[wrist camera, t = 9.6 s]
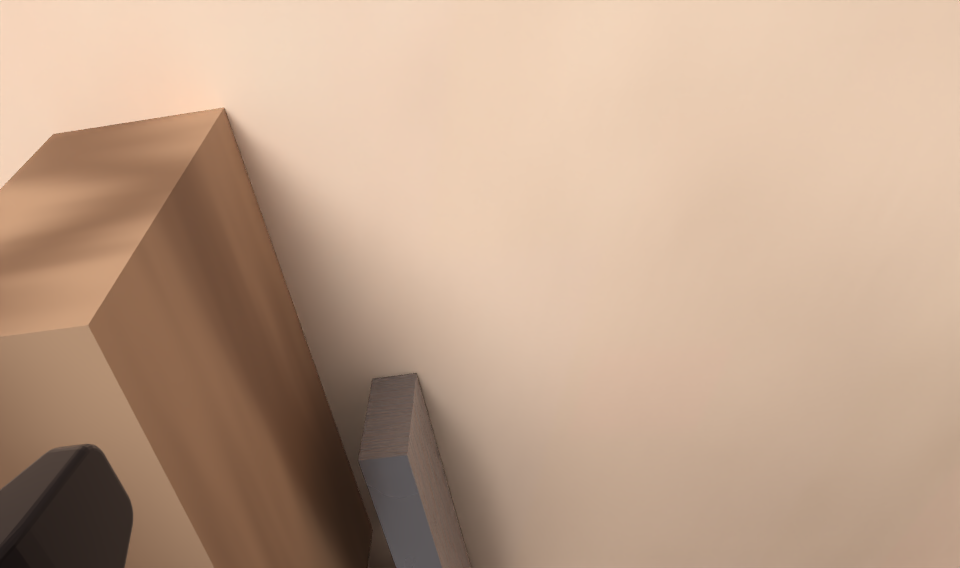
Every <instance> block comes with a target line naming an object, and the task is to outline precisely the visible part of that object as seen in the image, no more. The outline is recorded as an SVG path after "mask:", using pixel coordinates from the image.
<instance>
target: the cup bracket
mask: <svg viewBox="0 0 960 568" xmlns="http://www.w3.org/2000/svg"><path fill="white" fill-rule="evenodd" d="M358 462H359V465H360V467H361V470H362V473H363V476H364V479H365V481H366V484H367V487H368V490H369V493H370V496H371V498H372V501H373V504H374V507H375V510H376V512H377V515H378V518H379V521H380V524H381V526H382V529H383V532H384V535H385V538H386V541H387V543H388V546H389V549H390V552H391V555H392V557H393V560H394V563H395V566H396V568H471V565H470V561H469V558H468V554H467V551H466V547H465V544H464V540H463V537H462V533H461V530H460V526H459V522H458V519H457V515H456V512H455V508H454V505H453V501H452V498H451V494H450V491H449V487H448V484H447V480H446V476H445V473H444V469H443V466H442V462H441V459H440V455H439V452H438V448H437V445H436V441H435V437H434V434H433V430H432V427H431V423H430V420H429V416H428V413H427V409H426V406H425V402H424V398H423V395H422V391H421V388H420V384H419V381H418V377H417V374H416V373H414V374H407V375H399V376H391V377H383V378H375V379H372V385H371V390H370V396H369V402H368V407H367V413H366V419H365V424H364V430H363V436H362V441H361V447H360V453H359V458H358Z"/></svg>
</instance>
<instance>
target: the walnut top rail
mask: <svg viewBox="0 0 960 568" xmlns="http://www.w3.org/2000/svg"><path fill="white" fill-rule="evenodd" d="M79 444H93V445H96V446H97V447H98V448H100V449H101V450H102V451H103V453H104V454H105V456H106V458H107V459H108V461H109V463H110V465H111V466H112V468H113V470H114V472H115V473H116V475H117V477H118V479H119V480H120V482H121V484H122V485H123V487H124V489H125V491H126V492H127V494H128V496H129V498H130V501H131V504H132V508H133V527H132V532H131V537H130V542H129V548H128V553H127V558H126V563H125V568H367V566H368V559H369V552H370V545H371V538H372V531H373V530H372V527H371V524H370V521H369V518H368V515H367V513H366V510H365V507H364V504H363V501H362V498H361V496H360V493H359V490H358V487H357V484H356V481H355V478H354V476H353V473H352V470H351V467H350V464H349V461H348V459H347V456H346V453H345V450H344V447H343V444H342V442H341V439H340V436H339V433H338V430H337V427H336V424H335V422H334V419H333V416H332V413H331V410H330V407H329V405H328V402H327V399H326V396H325V393H324V390H323V388H322V385H321V382H320V379H319V376H318V373H317V370H316V368H315V365H314V362H313V359H312V356H311V353H310V351H309V348H308V345H307V342H306V339H305V336H304V334H303V331H302V328H301V325H300V322H299V319H298V316H297V314H296V311H295V308H294V305H293V302H292V299H291V297H290V294H289V291H288V288H287V285H286V282H285V280H284V277H283V274H282V271H281V268H280V265H279V262H278V260H277V257H276V254H275V251H274V248H273V245H272V243H271V240H270V237H269V234H268V231H267V228H266V226H265V223H264V220H263V217H262V214H261V211H260V208H259V206H258V203H257V200H256V197H255V194H254V191H253V189H252V186H251V183H250V180H249V177H248V174H247V172H246V169H245V166H244V163H243V160H242V157H241V154H240V152H239V149H238V146H237V143H236V140H235V137H234V135H233V132H232V129H231V126H230V123H229V120H228V118H227V115H226V112H225V109H224V108H218V109H212V110H206V111H199V112H193V113H186V114H180V115H173V116H167V117H161V118H154V119H148V120H141V121H135V122H129V123H122V124H116V125H109V126H103V127H97V128H90V129H84V130H77V131H71V132H65V133H58V134H53V135H52V136H51V137H50V138H49V139H48V140H47V141H46V142H45V143H44V144H43V146H42V147H41V148H40V149H39V150H38V151H37V152H36V153H35V154H34V155H33V156H32V157H31V158H30V159H29V160H28V161H27V162H26V163H25V164H24V165H23V166H22V167H21V168H20V169H19V171H18V172H17V173H16V174H15V175H14V176H13V177H12V178H11V179H10V180H9V181H8V182H7V183H6V184H5V185H4V186H3V187H2V188H1V189H0V489H1V488H3V487H4V486H5V485H6V484H8V483H9V482H10V481H11V480H13V479H14V478H15V477H16V476H18V475H19V474H20V473H21V472H22V471H24V470H25V469H26V468H27V467H29V466H30V465H31V464H32V463H34V462H35V461H36V460H37V459H39V458H40V457H41V456H42V455H44V454H45V453H46V452H48V451H49V450H51V449H53V448H57V447H63V446H71V445H79Z"/></svg>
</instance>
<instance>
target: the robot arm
mask: <svg viewBox="0 0 960 568" xmlns="http://www.w3.org/2000/svg"><path fill="white" fill-rule="evenodd" d="M132 527H133V508H132V504H131V501H130V498H129V496H128V494H127V492H126V491H125V489H124V487H123V485H122V484H121V482H120V480H119V479H118V477H117V475H116V473H115V472H114V470H113V468H112V466H111V465H110V463H109V461H108V459H107V458H106V456H105V454H104V453H103V451H102V450H101V449H100V448H98V447H97V446H96V445H93V444H79V445H71V446H63V447H57V448H53V449H51V450H49V451H48V452H46V453H45V454H44V455H42V456H41V457H40V458H39V459H37V460H36V461H35V462H34V463H32V464H31V465H30V466H29V467H27V468H26V469H25V470H24V471H22V472H21V473H20V474H19V475H18V476H16V477H15V478H14V479H13V480H11V481H10V482H9V483H8V484H6V485H5V486H4V487H3V488H1V489H0V568H125V563H126V558H127V553H128V548H129V542H130V537H131V532H132Z"/></svg>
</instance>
